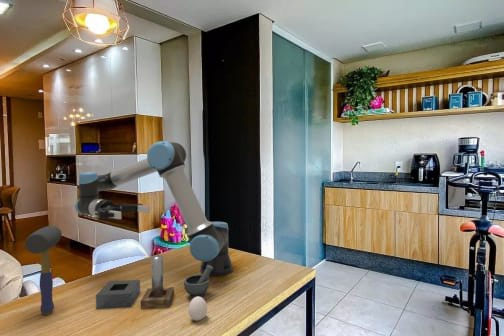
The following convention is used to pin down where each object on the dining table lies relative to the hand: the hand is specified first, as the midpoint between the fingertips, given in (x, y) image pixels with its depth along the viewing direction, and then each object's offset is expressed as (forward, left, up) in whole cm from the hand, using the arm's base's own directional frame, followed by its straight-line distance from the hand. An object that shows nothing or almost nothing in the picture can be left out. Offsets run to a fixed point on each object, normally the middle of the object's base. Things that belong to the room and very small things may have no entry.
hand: (135, 212), depth 119 cm
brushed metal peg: (-10, +10, -31) cm, 34 cm away
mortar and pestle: (-25, +8, -32) cm, 42 cm away
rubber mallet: (+27, +14, -32) cm, 44 cm away
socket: (+5, +7, -32) cm, 33 cm away
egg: (-26, +24, -32) cm, 48 cm away
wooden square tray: (-10, +10, -32) cm, 35 cm away
